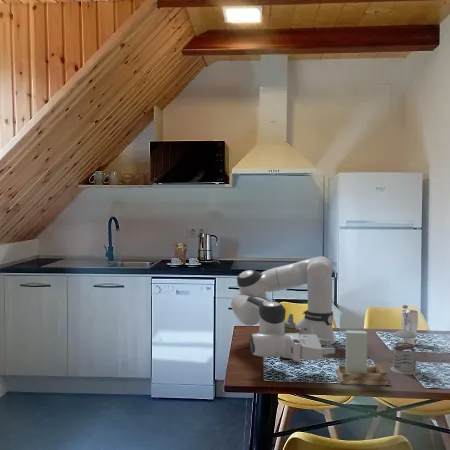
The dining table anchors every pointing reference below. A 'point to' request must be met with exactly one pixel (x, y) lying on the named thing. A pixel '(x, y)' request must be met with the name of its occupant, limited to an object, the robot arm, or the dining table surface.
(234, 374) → the dining table surface
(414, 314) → the beer glass
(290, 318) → the squeeze bottle
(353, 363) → the tall white upright block
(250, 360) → the dining table surface
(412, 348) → the grey white tiered vessel
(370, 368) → the wooden tray
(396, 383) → the dining table surface
